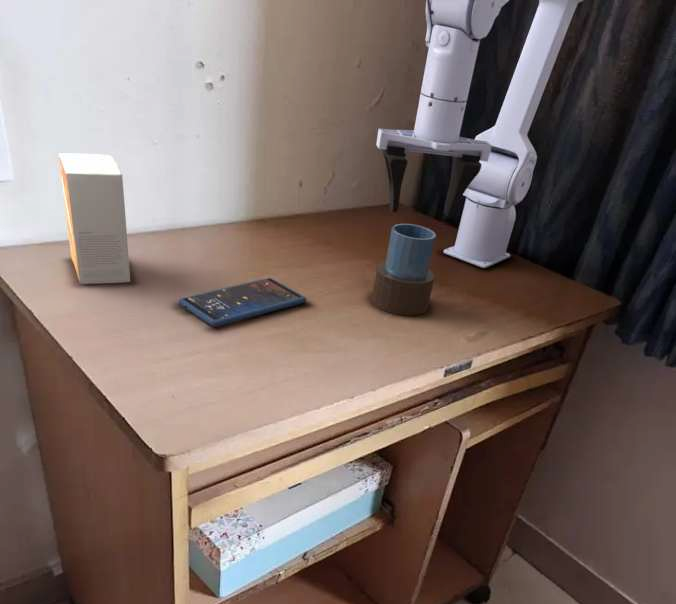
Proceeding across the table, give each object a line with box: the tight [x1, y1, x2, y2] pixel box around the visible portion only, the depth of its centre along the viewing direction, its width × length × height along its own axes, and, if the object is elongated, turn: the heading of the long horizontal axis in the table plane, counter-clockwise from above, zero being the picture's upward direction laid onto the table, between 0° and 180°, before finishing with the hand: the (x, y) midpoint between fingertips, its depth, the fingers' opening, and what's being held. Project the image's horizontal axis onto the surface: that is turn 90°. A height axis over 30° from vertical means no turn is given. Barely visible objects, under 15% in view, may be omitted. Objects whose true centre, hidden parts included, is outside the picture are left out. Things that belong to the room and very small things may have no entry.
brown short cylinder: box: [371, 260, 435, 317], centre depth 90 cm, size 8×8×4 cm
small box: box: [58, 153, 131, 285], centre depth 82 cm, size 8×6×13 cm
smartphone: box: [178, 277, 307, 328], centre depth 84 cm, size 8×1×15 cm
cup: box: [385, 223, 437, 280], centre depth 86 cm, size 6×6×5 cm
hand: (420, 212), depth 90 cm, fingers open, 7 cm apart
